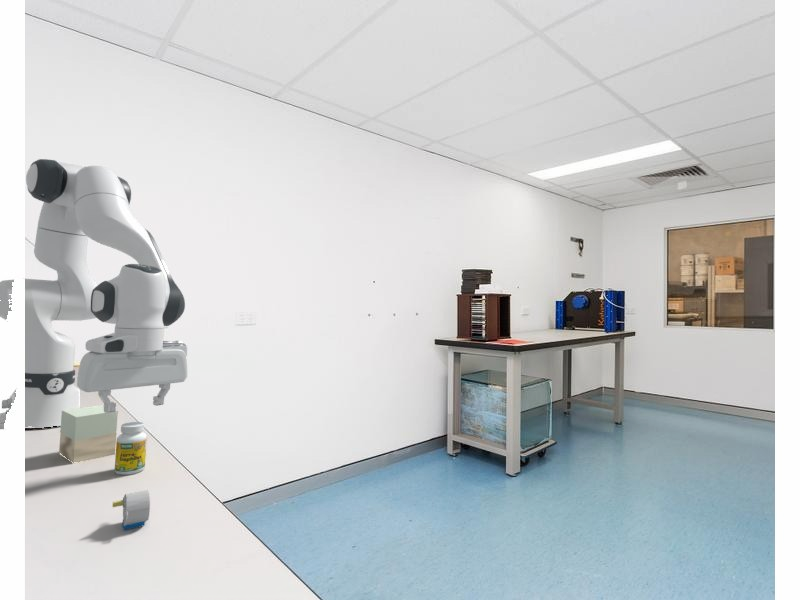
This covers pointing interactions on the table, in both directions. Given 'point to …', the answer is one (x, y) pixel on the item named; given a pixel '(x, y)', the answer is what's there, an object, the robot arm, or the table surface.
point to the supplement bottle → (130, 449)
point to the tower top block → (88, 422)
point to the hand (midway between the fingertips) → (134, 408)
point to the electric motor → (134, 509)
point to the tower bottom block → (87, 447)
